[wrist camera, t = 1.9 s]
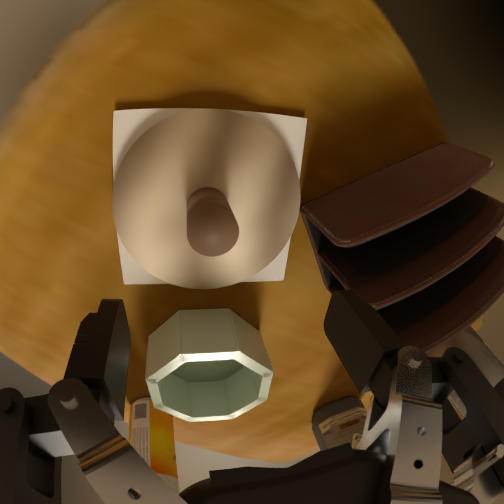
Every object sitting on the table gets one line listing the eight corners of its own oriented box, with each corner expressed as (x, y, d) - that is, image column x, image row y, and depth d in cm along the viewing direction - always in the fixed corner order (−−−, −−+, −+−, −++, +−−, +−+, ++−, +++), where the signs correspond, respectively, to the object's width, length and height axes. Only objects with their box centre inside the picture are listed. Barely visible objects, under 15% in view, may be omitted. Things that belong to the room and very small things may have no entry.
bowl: (263, 305, 29) (280, 346, 24) (252, 378, 35) (263, 415, 29) (143, 309, 26) (138, 353, 21) (158, 383, 32) (158, 422, 27)
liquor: (351, 413, 48) (410, 530, 22) (309, 428, 47) (361, 554, 21) (360, 390, 44) (432, 523, 18) (313, 407, 42) (377, 554, 16)
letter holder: (450, 214, 30) (532, 267, 18) (323, 286, 30) (392, 385, 18) (444, 140, 25) (547, 178, 13) (296, 205, 25) (391, 298, 13)
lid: (307, 118, 21) (344, 122, 16) (283, 280, 27) (305, 320, 22) (113, 110, 17) (87, 110, 12) (124, 284, 24) (112, 328, 19)
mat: (304, 118, 21) (307, 118, 21) (281, 276, 28) (283, 280, 27) (115, 110, 18) (113, 110, 17) (125, 280, 25) (124, 284, 24)
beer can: (147, 419, 36) (151, 507, 23) (121, 401, 33) (118, 497, 20) (180, 410, 36) (190, 504, 23) (155, 390, 33) (159, 495, 20)
